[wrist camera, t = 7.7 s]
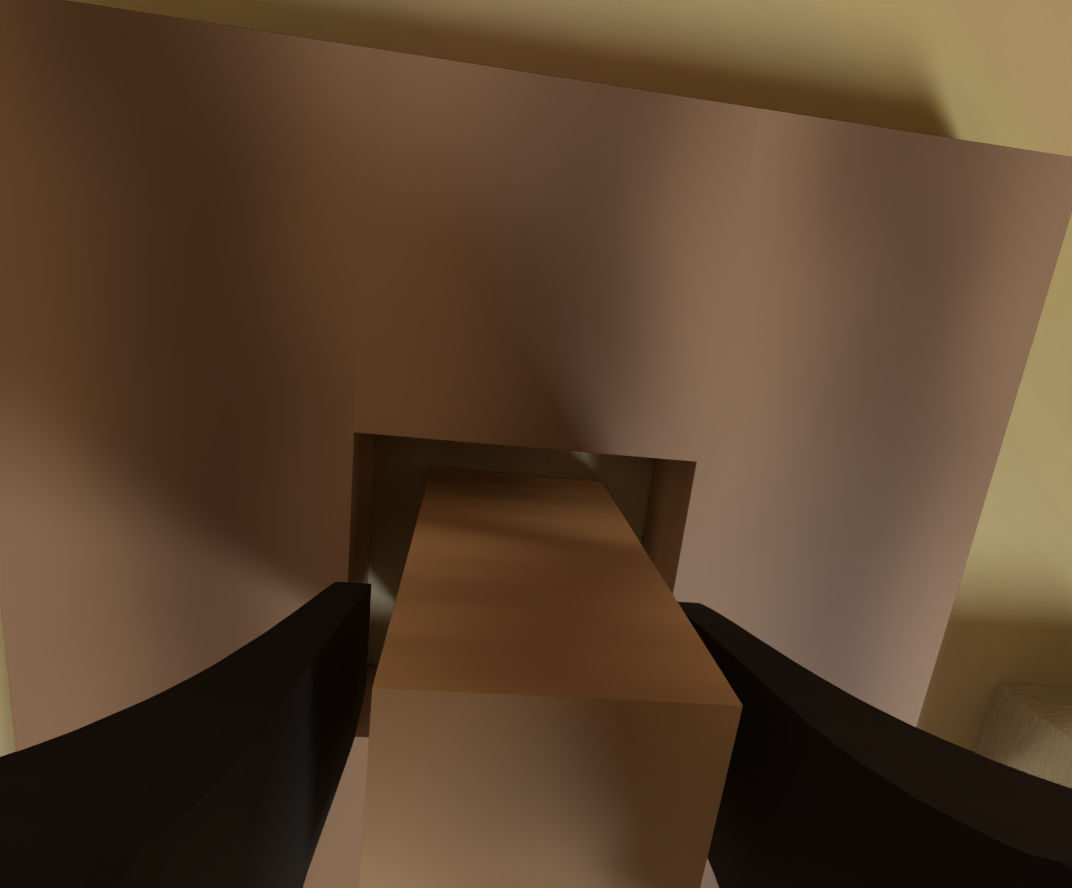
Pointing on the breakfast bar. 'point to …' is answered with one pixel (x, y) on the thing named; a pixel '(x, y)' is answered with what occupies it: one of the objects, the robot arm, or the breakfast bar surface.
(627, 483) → the breakfast bar surface
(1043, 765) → the steel stub
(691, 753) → the oak pin
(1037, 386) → the breakfast bar surface
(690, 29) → the breakfast bar surface
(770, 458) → the hole plate
